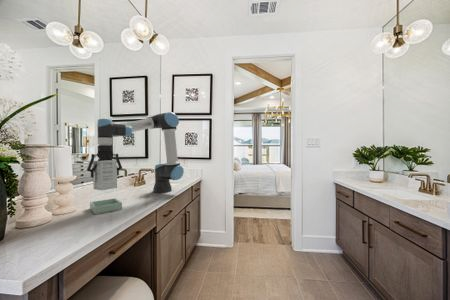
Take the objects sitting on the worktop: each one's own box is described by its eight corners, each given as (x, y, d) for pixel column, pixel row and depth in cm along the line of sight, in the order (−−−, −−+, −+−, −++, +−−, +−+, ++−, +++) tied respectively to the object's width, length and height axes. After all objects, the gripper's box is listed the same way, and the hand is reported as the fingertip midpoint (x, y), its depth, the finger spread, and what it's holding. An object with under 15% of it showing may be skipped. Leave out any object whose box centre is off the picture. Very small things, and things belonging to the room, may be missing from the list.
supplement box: (117, 188, 121) (117, 160, 121) (101, 190, 113) (101, 161, 113) (108, 186, 126) (108, 159, 126) (92, 189, 118) (92, 160, 118)
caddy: (115, 204, 130) (115, 198, 130) (122, 209, 118) (121, 202, 118) (90, 208, 121) (89, 202, 121) (93, 214, 109) (93, 207, 109)
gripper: (124, 145, 130) (124, 179, 130) (80, 145, 115) (80, 183, 115) (127, 145, 124) (128, 180, 124) (82, 144, 109) (82, 185, 109)
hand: (105, 182), depth 119 cm, fingers closed on supplement box, 11 cm apart
